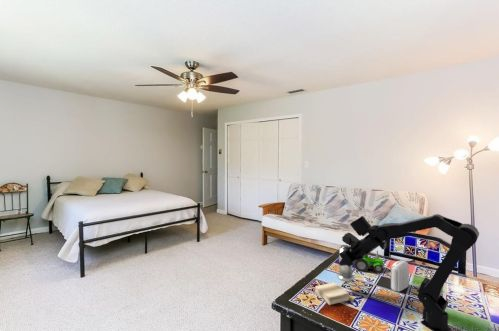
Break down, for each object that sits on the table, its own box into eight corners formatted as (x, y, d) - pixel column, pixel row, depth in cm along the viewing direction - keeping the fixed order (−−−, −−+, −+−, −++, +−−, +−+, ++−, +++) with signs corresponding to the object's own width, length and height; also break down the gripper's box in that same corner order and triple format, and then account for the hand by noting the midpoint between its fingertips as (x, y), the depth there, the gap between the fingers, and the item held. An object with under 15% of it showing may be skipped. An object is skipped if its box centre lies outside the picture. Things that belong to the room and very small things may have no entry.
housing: (357, 279, 111) (357, 247, 111) (345, 283, 109) (345, 250, 108) (345, 273, 118) (345, 243, 117) (334, 276, 115) (334, 245, 115)
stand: (349, 300, 106) (349, 293, 106) (329, 304, 103) (329, 297, 103) (333, 288, 116) (333, 282, 115) (315, 292, 112) (315, 286, 112)
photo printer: (400, 282, 120) (400, 257, 120) (410, 286, 117) (410, 260, 116) (389, 289, 115) (389, 262, 114) (399, 293, 111) (399, 265, 111)
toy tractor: (385, 275, 128) (385, 256, 128) (351, 270, 134) (351, 252, 133) (381, 266, 139) (382, 248, 138) (350, 262, 144) (350, 245, 144)
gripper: (363, 224, 116) (341, 242, 124) (343, 233, 103) (320, 252, 112) (381, 245, 110) (356, 262, 119) (363, 257, 98) (336, 275, 106)
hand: (342, 262), depth 114 cm, fingers closed on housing, 5 cm apart
